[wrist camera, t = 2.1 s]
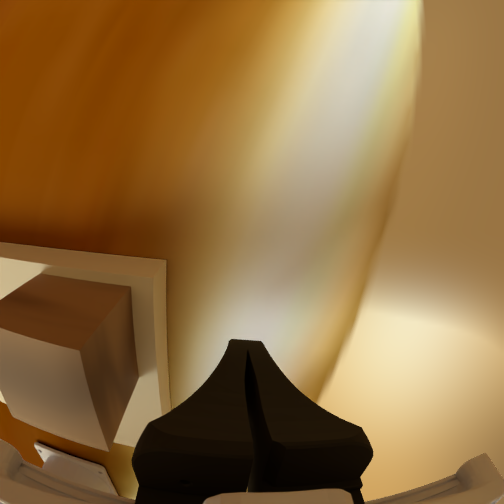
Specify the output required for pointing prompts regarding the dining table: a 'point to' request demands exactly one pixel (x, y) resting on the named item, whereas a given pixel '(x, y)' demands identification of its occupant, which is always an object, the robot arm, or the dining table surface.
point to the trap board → (143, 306)
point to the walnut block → (68, 357)
